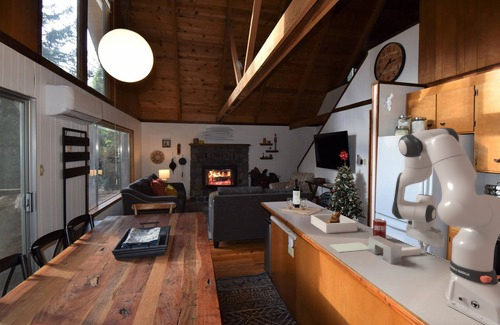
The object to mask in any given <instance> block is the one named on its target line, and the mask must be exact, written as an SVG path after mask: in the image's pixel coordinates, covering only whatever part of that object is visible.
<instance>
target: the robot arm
mask: <svg viewBox="0 0 500 325" xmlns="http://www.w3.org/2000/svg"><path fill="white" fill-rule="evenodd" d="M398 149H399V152H400V155H402V156H403V157H404V167H403V171H402V172H400V173H398V176H397V177H396V178H397V179H396V183H395V189H394V196H393V203H392V206H391V213H392V215H393V216H394V217H395V218H396V219H397V220H405V221H406V226H405V234H406V236H407V237H410V238H411V239H415V240H416V241H417V243H418V244H419V245H418V246H419V248H420V249H421V251H424V252H427V251H428V248H429V246H431V247H434V248H436V249H443V248H444V247H445V238H444V232H443V231H442V230H441V229H439V228H436V218H437V215H438V218H439V219H440V220H441V222H442V223H443V224H445V225H447V226H449V227H453V228H458V229H459V228H460V229H459V231H458V233H456V235H454V237H453V238H452V241H451V242H452V244H451V258H450V259H449V270H450V274H449V280H448V284H447V287H446V290H445V293H443V295H444V296H443V297H444V299H445V300H446V302H445V304H446V305H447V307H449V308H452V309H454V310H456V311H457V312H458V313H459V312H460V313H462V314H464V315H465V316H467V317H469V318H471V319H473V320H475V321H477V322H479V323H481V324H483V325H500V283H499V282H500V281H499V279H500V275H497V274H496V273H497V272H496V270H495V269H494V258H495V247H496V243H497V241H498V239H499V236H500V196H495V195H491V194H477V192H476V188H475V181H476V180H477V178H478V173H477V172H476V170H475V168H474V166H473V163H472V162H471V159H470V158H469V156H468V154H467V153H466V151H465V149H464V147H463V146H462V145H461V143H460V137H459V134H458V132H457V131H456V130H455V129H453V128H451V127H440V128H433V129H431V128H430V129H424V130H420V131H414V133H413V132H412V133H407V134H405V135H402V136H401V137H400V138H399V140H398ZM433 169H434V171H435V174H436V175H437V178H438V181H439V184H440V187H441V200H440V202H439V203H438V205H437V208H436V201H435V200H436V199H435V197H434V196H433V195H430V194H422V193H420V194H416V199H415V201H408V200H405V193H406V187H408V186H411V185H416V184H420V183H423V182H425V181H427V180H428V179H429V178H430V177H432V174H433Z"/></svg>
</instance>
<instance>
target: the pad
mask: <svg viewBox="0 0 500 325" xmlns="http://www.w3.org/2000/svg"><path fill="white" fill-rule="evenodd" d="M329 246H330V247H331V248H332V249H333V250H335V251H336V252H338V253H348V252H359V251H368V248H369V245H366V244H364V243H362V242H361V241H360V242H349V243H347V242H346V243H334V244H333V243H332V244H329Z"/></svg>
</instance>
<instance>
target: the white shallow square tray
mask: <svg viewBox="0 0 500 325" xmlns="http://www.w3.org/2000/svg"><path fill="white" fill-rule="evenodd" d="M332 214H333V213H329V214H328V213H327V214H311V215H310V224H312V225H313V226H314V227H316V228H318V229H319V230H321V231H322V232H324V234H336V233H347V232H349V233H350V232H358V226H359V224H358V222H357V221H356V220H354V219H352V218H350V217H347V216H344V214H343V215H342V214H341V213H340V223H332V224H326V223H325V222H326V221H329V219H330V218H331V217H332V216H333V215H332Z"/></svg>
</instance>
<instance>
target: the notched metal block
mask: <svg viewBox="0 0 500 325" xmlns="http://www.w3.org/2000/svg"><path fill="white" fill-rule="evenodd" d="M368 247H369V248H368V250H367V251H368V252H370V253H371V254H373V255H382V260H383V261H385V262H386V263H388V264H390V265H392V264H393V265H394V264H401V263H402V256H401V254H402V248H403V247H402V246H401V245H399V244H397V243H395V242H393V241H391V240H388V239H387V238H386V239H385V238H382V237H380V236H373V235H370V236H368Z"/></svg>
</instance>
